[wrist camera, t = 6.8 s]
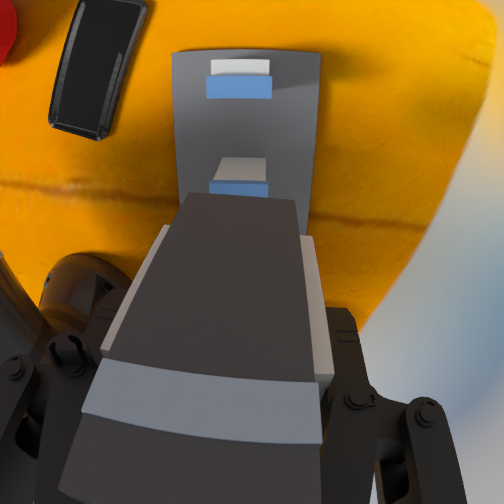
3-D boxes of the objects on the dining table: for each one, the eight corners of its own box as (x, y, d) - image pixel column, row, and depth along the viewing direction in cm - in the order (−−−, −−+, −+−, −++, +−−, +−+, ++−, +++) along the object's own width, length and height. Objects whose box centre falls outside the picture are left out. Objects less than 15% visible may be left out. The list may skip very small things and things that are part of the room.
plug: (191, 276, 16) (123, 524, 6) (187, 191, 14) (54, 487, 4) (284, 284, 16) (283, 546, 6) (296, 199, 13) (325, 532, 4)
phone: (46, 125, 27) (81, -8, 20) (52, 123, 28) (87, -7, 21) (105, 143, 29) (150, 1, 21) (109, 140, 30) (154, 3, 22)
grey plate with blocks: (190, 282, 39) (177, 328, 33) (174, 53, 25) (145, 51, 18) (298, 286, 39) (303, 334, 32) (319, 53, 24) (337, 51, 18)
